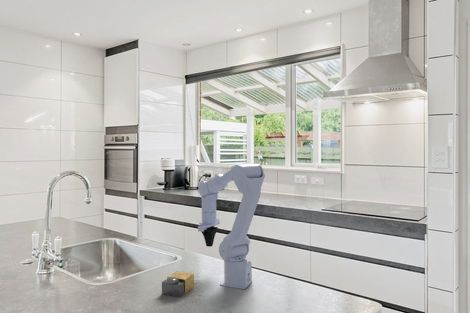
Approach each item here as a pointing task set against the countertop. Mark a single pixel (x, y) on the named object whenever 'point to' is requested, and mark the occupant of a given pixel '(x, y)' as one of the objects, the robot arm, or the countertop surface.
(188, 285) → the coupler lock
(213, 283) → the countertop surface
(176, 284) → the coupler
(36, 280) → the countertop surface
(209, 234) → the robot arm
